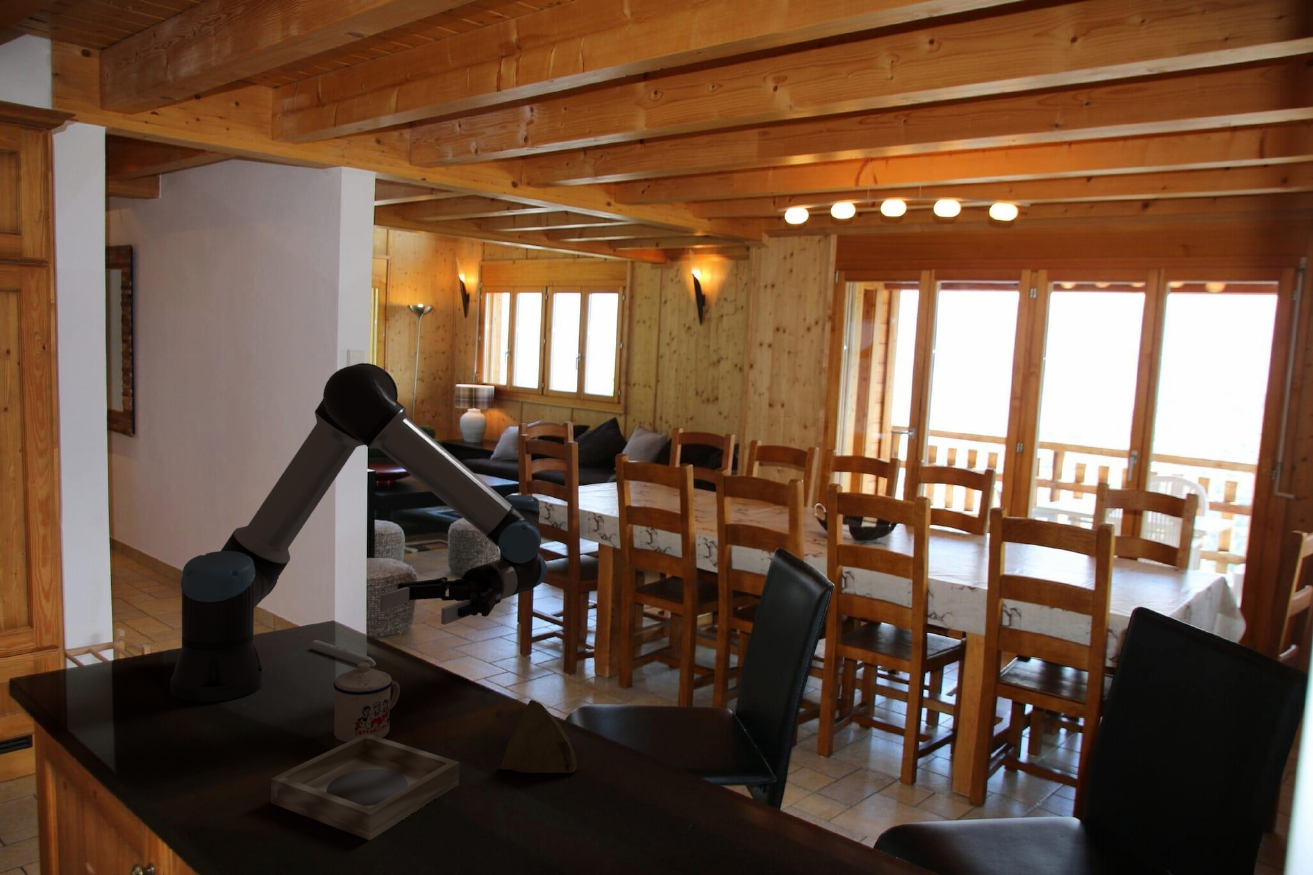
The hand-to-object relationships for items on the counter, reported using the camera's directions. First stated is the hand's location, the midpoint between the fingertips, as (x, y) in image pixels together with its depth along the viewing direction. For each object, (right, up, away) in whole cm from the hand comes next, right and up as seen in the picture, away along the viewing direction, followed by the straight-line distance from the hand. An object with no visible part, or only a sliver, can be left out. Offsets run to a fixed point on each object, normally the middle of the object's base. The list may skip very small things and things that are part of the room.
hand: (411, 609), depth 160 cm
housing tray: (+1, -21, -27) cm, 35 cm away
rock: (+24, -22, -17) cm, 36 cm away
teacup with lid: (-5, -19, -6) cm, 21 cm away
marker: (-20, -15, +26) cm, 36 cm away
